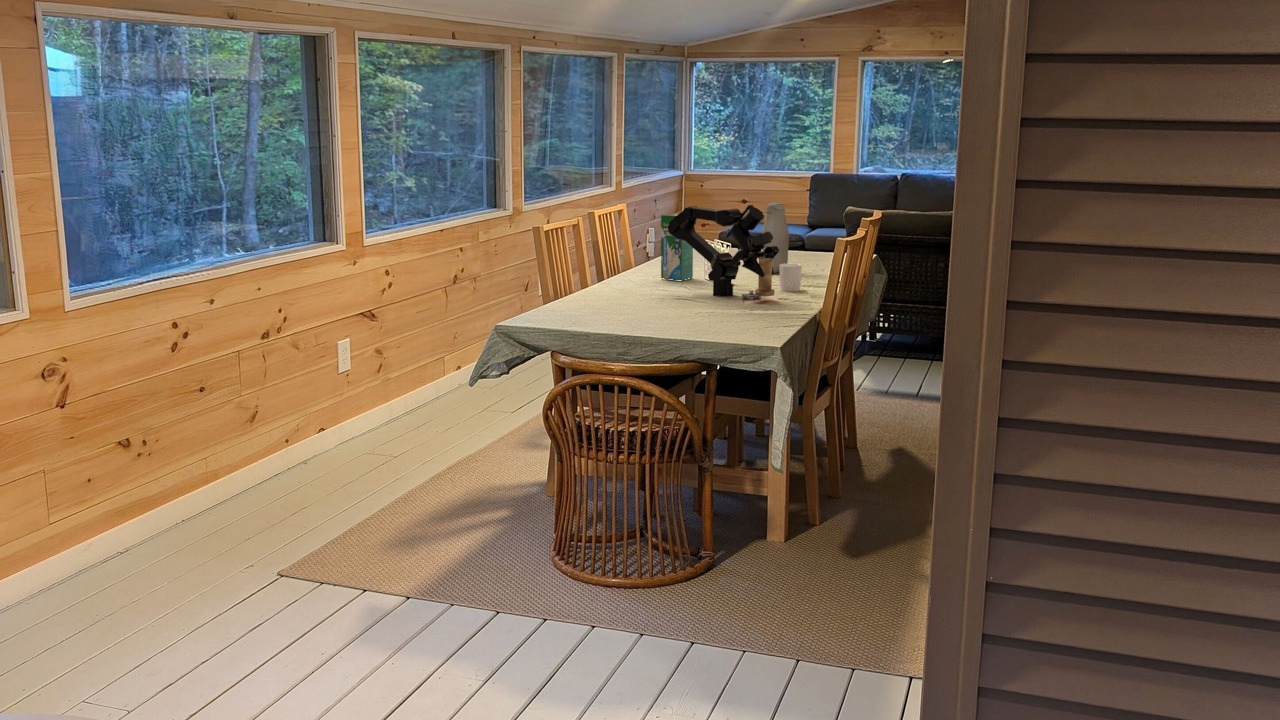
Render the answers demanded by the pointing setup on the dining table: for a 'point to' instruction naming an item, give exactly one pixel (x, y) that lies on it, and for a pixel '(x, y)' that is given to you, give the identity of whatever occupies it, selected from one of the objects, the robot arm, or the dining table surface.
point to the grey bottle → (777, 233)
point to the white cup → (790, 277)
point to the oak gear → (765, 278)
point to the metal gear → (750, 296)
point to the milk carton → (674, 254)
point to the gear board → (762, 301)
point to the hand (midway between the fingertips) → (768, 275)
